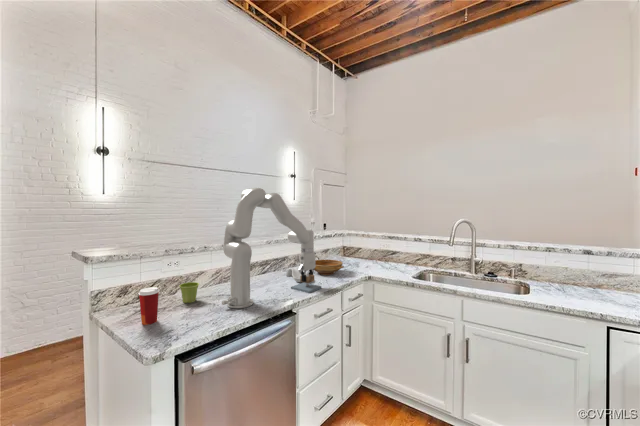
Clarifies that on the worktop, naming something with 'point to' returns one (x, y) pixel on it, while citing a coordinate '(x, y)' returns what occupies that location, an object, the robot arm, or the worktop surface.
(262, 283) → the worktop surface
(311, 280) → the collar
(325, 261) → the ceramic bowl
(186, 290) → the plant pot
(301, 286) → the post board
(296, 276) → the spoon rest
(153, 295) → the paper cup
